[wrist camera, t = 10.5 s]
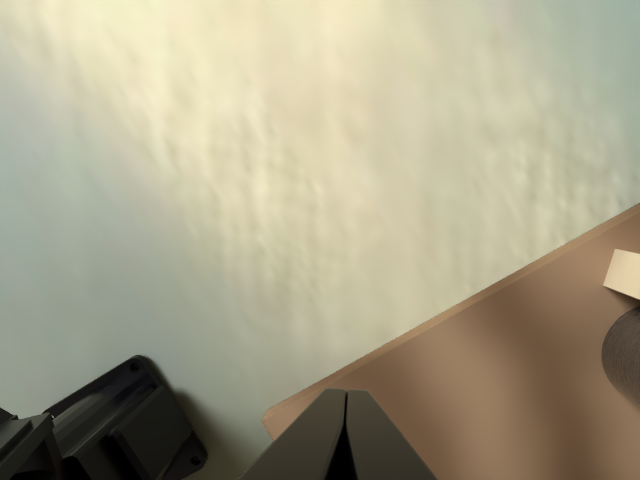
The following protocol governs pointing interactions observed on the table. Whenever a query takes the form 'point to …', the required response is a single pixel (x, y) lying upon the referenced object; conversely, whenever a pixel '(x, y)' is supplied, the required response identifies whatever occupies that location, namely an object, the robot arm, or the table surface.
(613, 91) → the table surface
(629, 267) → the v block
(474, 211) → the table surface
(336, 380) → the board
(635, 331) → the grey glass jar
